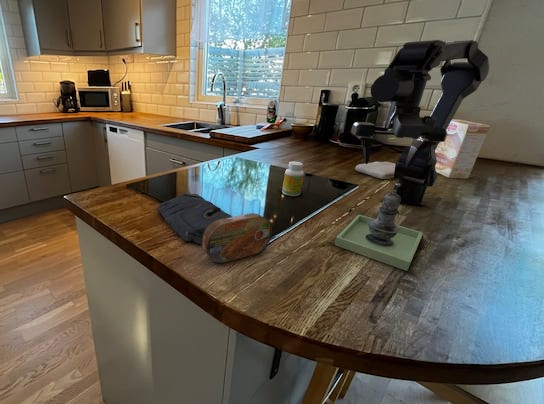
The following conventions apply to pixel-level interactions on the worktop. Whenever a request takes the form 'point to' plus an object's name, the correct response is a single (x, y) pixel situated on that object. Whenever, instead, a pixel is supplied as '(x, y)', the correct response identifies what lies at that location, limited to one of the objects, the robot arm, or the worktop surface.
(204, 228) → the navy blue pouch
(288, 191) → the supplement bottle
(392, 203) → the grey tall rounded piece
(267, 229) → the tin
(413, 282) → the worktop surface
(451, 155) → the coffeecake box
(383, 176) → the washcloth
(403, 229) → the sage tray
